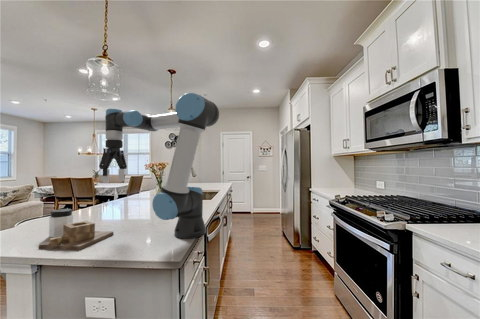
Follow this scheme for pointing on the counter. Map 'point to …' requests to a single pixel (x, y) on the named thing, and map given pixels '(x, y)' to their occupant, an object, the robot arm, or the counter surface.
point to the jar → (59, 221)
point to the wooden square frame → (76, 232)
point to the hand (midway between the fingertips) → (114, 182)
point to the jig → (76, 242)
